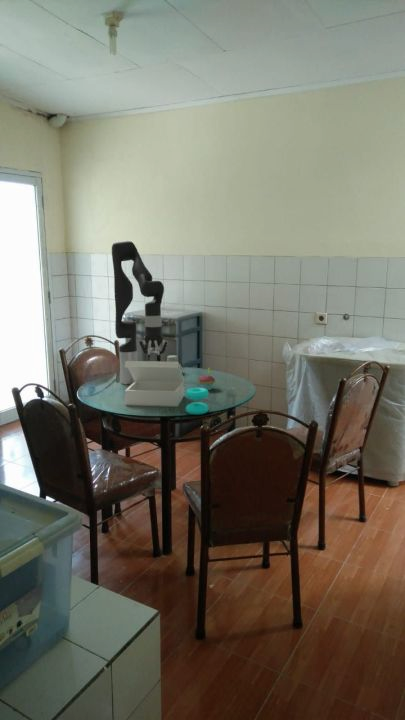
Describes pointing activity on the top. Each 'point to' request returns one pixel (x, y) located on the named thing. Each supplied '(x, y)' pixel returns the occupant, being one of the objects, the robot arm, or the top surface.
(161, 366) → the lid
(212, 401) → the top surface
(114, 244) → the robot arm
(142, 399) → the mailer base
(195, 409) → the donuts
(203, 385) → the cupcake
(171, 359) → the air freshener
